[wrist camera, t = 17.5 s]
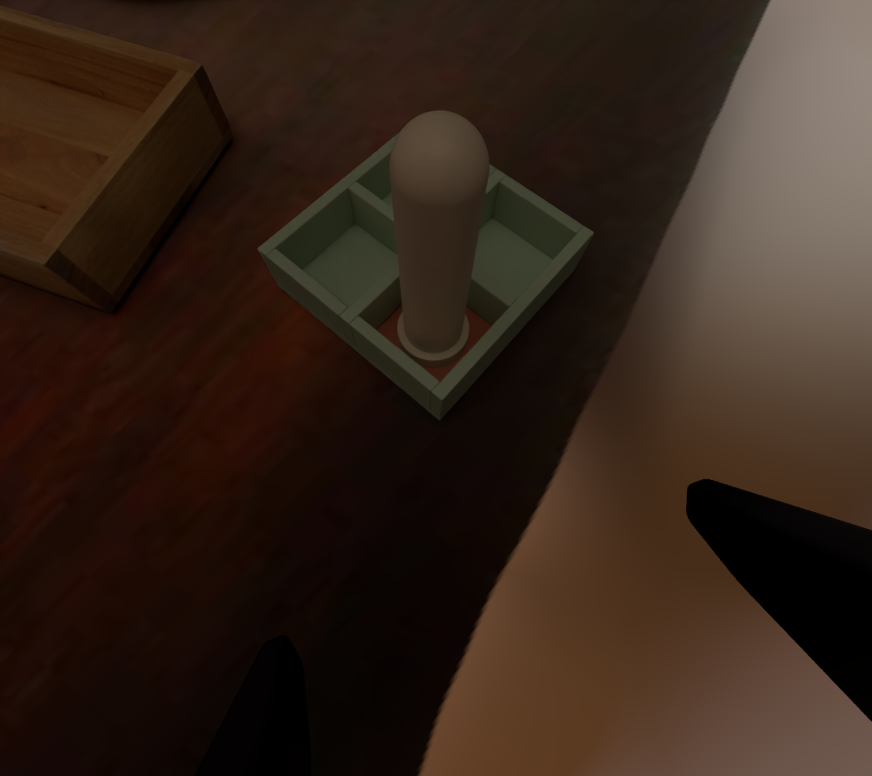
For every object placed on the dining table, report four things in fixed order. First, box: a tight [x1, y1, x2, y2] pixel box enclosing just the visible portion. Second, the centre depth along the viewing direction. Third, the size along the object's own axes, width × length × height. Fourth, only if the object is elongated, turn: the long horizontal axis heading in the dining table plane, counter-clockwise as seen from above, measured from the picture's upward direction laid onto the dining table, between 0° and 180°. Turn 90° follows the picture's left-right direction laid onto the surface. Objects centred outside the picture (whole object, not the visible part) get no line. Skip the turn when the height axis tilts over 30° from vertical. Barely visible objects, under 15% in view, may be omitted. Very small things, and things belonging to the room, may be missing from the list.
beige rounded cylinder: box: [389, 111, 489, 367], centre depth 19 cm, size 4×4×13 cm
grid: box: [258, 133, 594, 420], centre depth 26 cm, size 13×13×4 cm
